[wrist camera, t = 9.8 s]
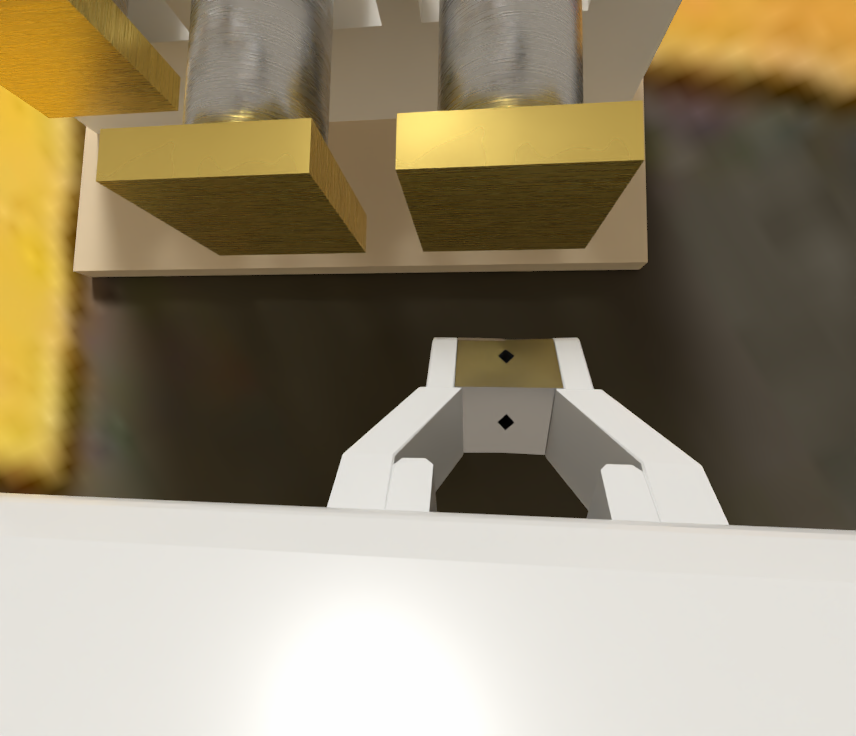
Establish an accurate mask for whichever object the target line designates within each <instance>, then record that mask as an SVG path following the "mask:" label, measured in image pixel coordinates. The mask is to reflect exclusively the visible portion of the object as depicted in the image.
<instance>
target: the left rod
mask: <svg viewBox="0 0 856 736" xmlns="http://www.w3.org/2000/svg"><path fill="white" fill-rule="evenodd" d="M128 4H129V0H0V85H1V86H3V87H4V88H6V89H7V90H9V91H10V92H12V93H13V94H15V95H16V96H18V97H19V98H20V99H22V100H23V101H25V102H26V103H28V104H29V105H31V106H32V107H34V108H35V109H37V110H38V111H40V112H41V113H42V114H44V115H45V116H47V117H48V118H60V117H78V116H96V115H114V114H132V113H150V112H167V111H178V107H179V93H180V79H181V77H180V76H179V75H178V74H177V73H176V72H175V71H174V69H173V68H172V67H171V66H170V65H169V64H168V63H167V62H166V60H165V59H164V58H163V57H162V56H161V55H160V54H159V53H158V51H157V50H156V49H155V48H154V47H153V46H152V45H151V44H150V43H149V41H148V40H147V39H146V38H145V37H144V36H143V35H142V34H141V32H140V31H139V30H138V29H137V28H136V27H135V26H134V25H133V23H132V22H131V21H130V20H129V19H128V18H127V16H128Z"/></svg>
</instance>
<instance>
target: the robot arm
mask: <svg viewBox="0 0 856 736" xmlns="http://www.w3.org/2000/svg"><path fill="white" fill-rule="evenodd" d="M463 453H519V454H537V455H545V457H546V458H547V460H548V461H549V462H550V463H551V465H552V466H553V467H554V468H555V470H556V471H557V472H558V473H559V475H560V476H561V477H562V478H563V480H564V481H565V482H566V483H567V485H568V486H569V487H570V488H571V490H572V491H573V492H574V493H575V495H576V496H577V497H578V498H579V500H580V501H581V502H582V503H583V505H584V506H585V507H586V508H587V510H588V514H587V518H586V519H585V518H562V517H539V516H516V515H493V514H471V513H448V512H437V504H436V491H437V490H438V488H439V487H440V486H441V484H442V483H443V482H444V480H445V479H446V477H447V476H448V475H449V473H450V472H451V471H452V469H453V468H454V467H455V465H456V464H457V463H458V461H459V460H460V458H461V457H462V456H463ZM0 736H856V530H833V529H810V528H788V527H765V526H742V525H729V524H728V521H727V519H726V517H725V515H724V513H723V511H722V508H721V506H720V504H719V502H718V500H717V498H716V495H715V493H714V491H713V489H712V487H711V485H710V482H709V480H708V478H707V476H706V474H705V472H704V470H703V467H702V466H701V465H700V464H699V463H698V462H696V461H695V460H694V459H692V458H691V457H690V456H688V455H687V454H686V453H684V452H683V451H682V450H680V449H679V448H678V447H676V446H675V445H674V444H673V443H671V442H670V441H669V440H667V439H666V438H665V437H663V436H662V435H661V434H659V433H658V432H657V431H655V430H654V429H653V428H651V427H650V426H649V425H648V424H646V423H645V422H644V421H642V420H641V419H640V418H638V417H637V416H636V415H634V414H633V413H632V412H630V411H629V410H628V409H626V408H625V407H624V406H623V405H621V404H620V403H619V402H617V401H616V400H615V399H613V398H612V397H611V396H609V395H608V394H607V393H605V392H604V391H603V390H600V389H594V388H593V384H592V381H591V377H590V374H589V370H588V367H587V363H586V360H585V357H584V353H583V350H582V346H581V343H580V340H579V339H578V338H577V337H576V338H552V339H498V338H458V339H457V338H447V337H434V339H433V341H432V347H431V355H430V362H429V369H428V376H427V384H426V387H419V388H417V389H416V390H415V391H414V392H413V393H412V394H411V395H409V396H408V397H407V398H406V399H405V400H404V401H403V402H401V403H400V404H399V405H398V406H397V407H396V408H395V409H393V410H392V411H391V412H390V413H389V414H388V415H387V416H386V417H384V418H383V419H382V420H381V421H380V422H379V423H378V424H376V425H375V426H374V427H373V428H372V429H371V430H370V431H368V432H367V433H366V434H365V435H364V436H363V437H362V438H360V439H359V440H358V441H357V442H356V443H355V444H354V445H352V446H351V447H350V448H349V449H348V450H347V451H346V452H344V453H343V455H342V459H341V462H340V465H339V468H338V472H337V475H336V478H335V482H334V485H333V488H332V492H331V495H330V498H329V501H328V505H327V507H311V506H288V505H265V504H243V503H220V502H197V501H174V500H151V499H129V498H106V497H83V496H60V495H37V494H14V493H0Z"/></svg>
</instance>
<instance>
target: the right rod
mask: <svg viewBox="0 0 856 736" xmlns="http://www.w3.org/2000/svg"><path fill="white" fill-rule="evenodd" d="M644 160H645V159H644V119H643V100H640V101H621V102H602V103H583V34H582V0H439V50H438V106H437V111H430V112H411V113H397V129H396V167H395V170H396V173H397V176H398V179H399V182H400V184H401V187H402V190H403V193H404V196H405V199H406V202H407V205H408V208H409V211H410V214H411V217H412V220H413V223H414V226H415V229H416V232H417V235H418V238H419V240H420V243H421V246H422V249H423V252H436V251H489V250H541V249H585V248H586V246H587V245H588V243H589V242H590V240H591V239H592V237H593V236H594V234H595V233H596V231H597V230H598V228H599V227H600V225H601V224H602V222H603V221H604V220H605V218H606V217H607V215H608V214H609V212H610V211H611V209H612V208H613V206H614V205H615V203H616V202H617V200H618V199H619V197H620V196H621V194H622V193H623V191H624V190H625V188H626V187H627V185H628V184H629V182H630V181H631V179H632V178H633V176H634V175H635V173H636V172H637V170H638V169H639V167H640V166H641V164H642V163H643V161H644Z"/></svg>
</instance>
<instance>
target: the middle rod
mask: <svg viewBox="0 0 856 736" xmlns="http://www.w3.org/2000/svg"><path fill="white" fill-rule="evenodd" d="M333 7H334V0H191V15H190V29H189V43H188V57H187V71H186V85H185V99H184V113H183V125H165V126H146V127H127V128H108V129H100V139H99V150H98V161H97V173H96V182H98V183H99V184H101V185H103V186H104V187H106V188H108V189H109V190H111V191H113V192H114V193H116V194H118V195H119V196H121V197H123V198H124V199H126V200H128V201H129V202H131V203H133V204H134V205H136V206H138V207H139V208H141V209H143V210H145V211H146V212H148V213H150V214H151V215H153V216H155V217H156V218H158V219H160V220H161V221H163V222H165V223H166V224H168V225H170V226H171V227H173V228H175V229H176V230H178V231H180V232H181V233H183V234H185V235H186V236H188V237H190V238H191V239H193V240H195V241H196V242H198V243H200V244H201V245H203V246H205V247H206V248H208V249H210V250H211V251H213V252H215V253H216V254H218V255H220V256H227V255H280V254H333V253H366V229H367V215H366V213H365V211H364V210H363V208H362V206H361V204H360V202H359V201H358V199H357V197H356V195H355V194H354V192H353V190H352V188H351V187H350V185H349V183H348V181H347V180H346V178H345V176H344V174H343V172H342V171H341V169H340V167H339V165H338V164H337V162H336V160H335V158H334V157H333V155H332V153H331V151H330V150H329V148H328V131H329V106H330V81H331V56H332V32H333Z"/></svg>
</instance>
